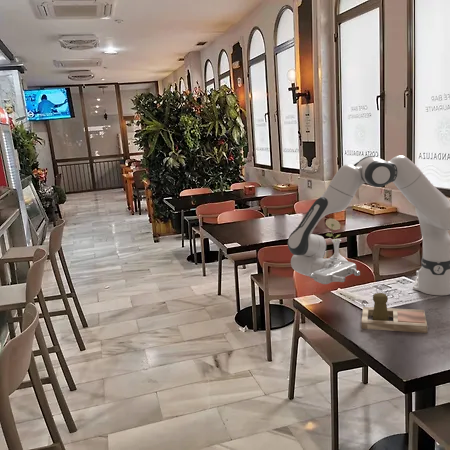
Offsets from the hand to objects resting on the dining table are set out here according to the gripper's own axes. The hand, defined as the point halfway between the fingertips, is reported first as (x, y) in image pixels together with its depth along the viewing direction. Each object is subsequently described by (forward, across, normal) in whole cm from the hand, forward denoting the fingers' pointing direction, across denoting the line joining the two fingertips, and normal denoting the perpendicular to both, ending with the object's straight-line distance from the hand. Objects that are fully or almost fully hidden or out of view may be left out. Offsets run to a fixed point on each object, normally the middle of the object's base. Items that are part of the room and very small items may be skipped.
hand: (351, 276), depth 176 cm
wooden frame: (+16, +3, +15) cm, 22 cm away
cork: (+12, 0, +15) cm, 20 cm away
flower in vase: (-42, +43, +15) cm, 62 cm away
